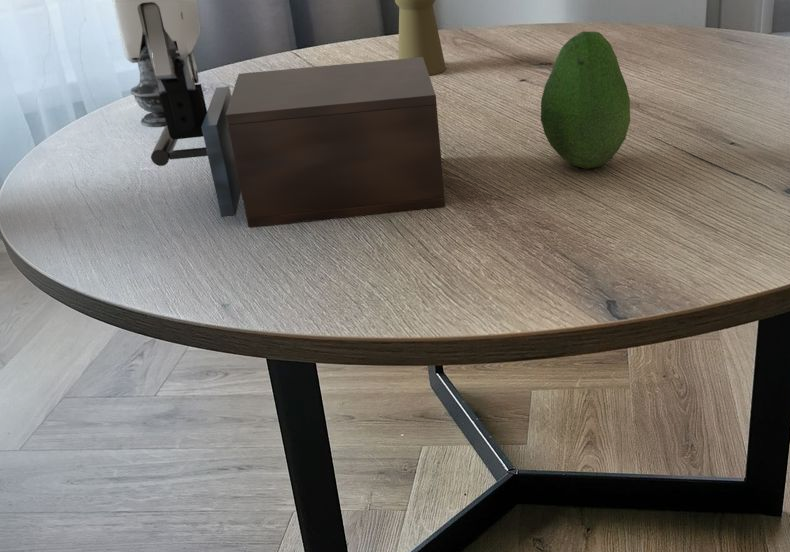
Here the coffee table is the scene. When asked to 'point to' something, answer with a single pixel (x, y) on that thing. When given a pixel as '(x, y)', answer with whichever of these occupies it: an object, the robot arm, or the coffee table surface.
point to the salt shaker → (149, 94)
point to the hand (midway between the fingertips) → (191, 134)
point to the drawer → (210, 152)
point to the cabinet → (336, 141)
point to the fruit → (586, 102)
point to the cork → (420, 34)
